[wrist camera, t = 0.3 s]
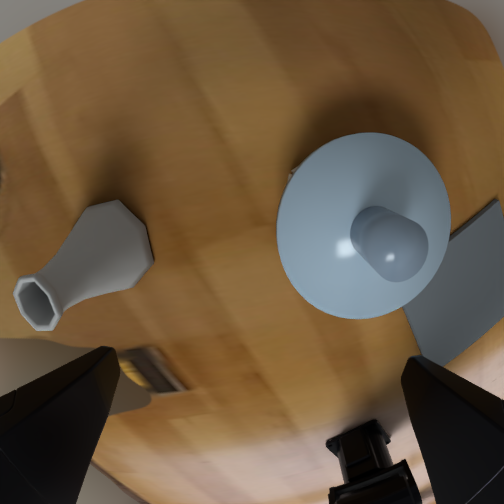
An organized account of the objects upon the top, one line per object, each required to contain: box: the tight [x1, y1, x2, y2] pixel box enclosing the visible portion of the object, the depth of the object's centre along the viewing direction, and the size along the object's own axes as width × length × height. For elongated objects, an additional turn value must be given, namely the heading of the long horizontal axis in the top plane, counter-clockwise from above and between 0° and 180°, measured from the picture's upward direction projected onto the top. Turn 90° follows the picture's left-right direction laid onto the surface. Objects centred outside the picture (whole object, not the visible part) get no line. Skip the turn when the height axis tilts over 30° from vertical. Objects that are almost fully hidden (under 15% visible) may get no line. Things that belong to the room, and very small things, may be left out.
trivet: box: [402, 199, 504, 367], centre depth 22 cm, size 13×13×1 cm
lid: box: [276, 133, 451, 319], centre depth 15 cm, size 11×11×4 cm
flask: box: [13, 200, 154, 331], centre depth 17 cm, size 7×7×10 cm
